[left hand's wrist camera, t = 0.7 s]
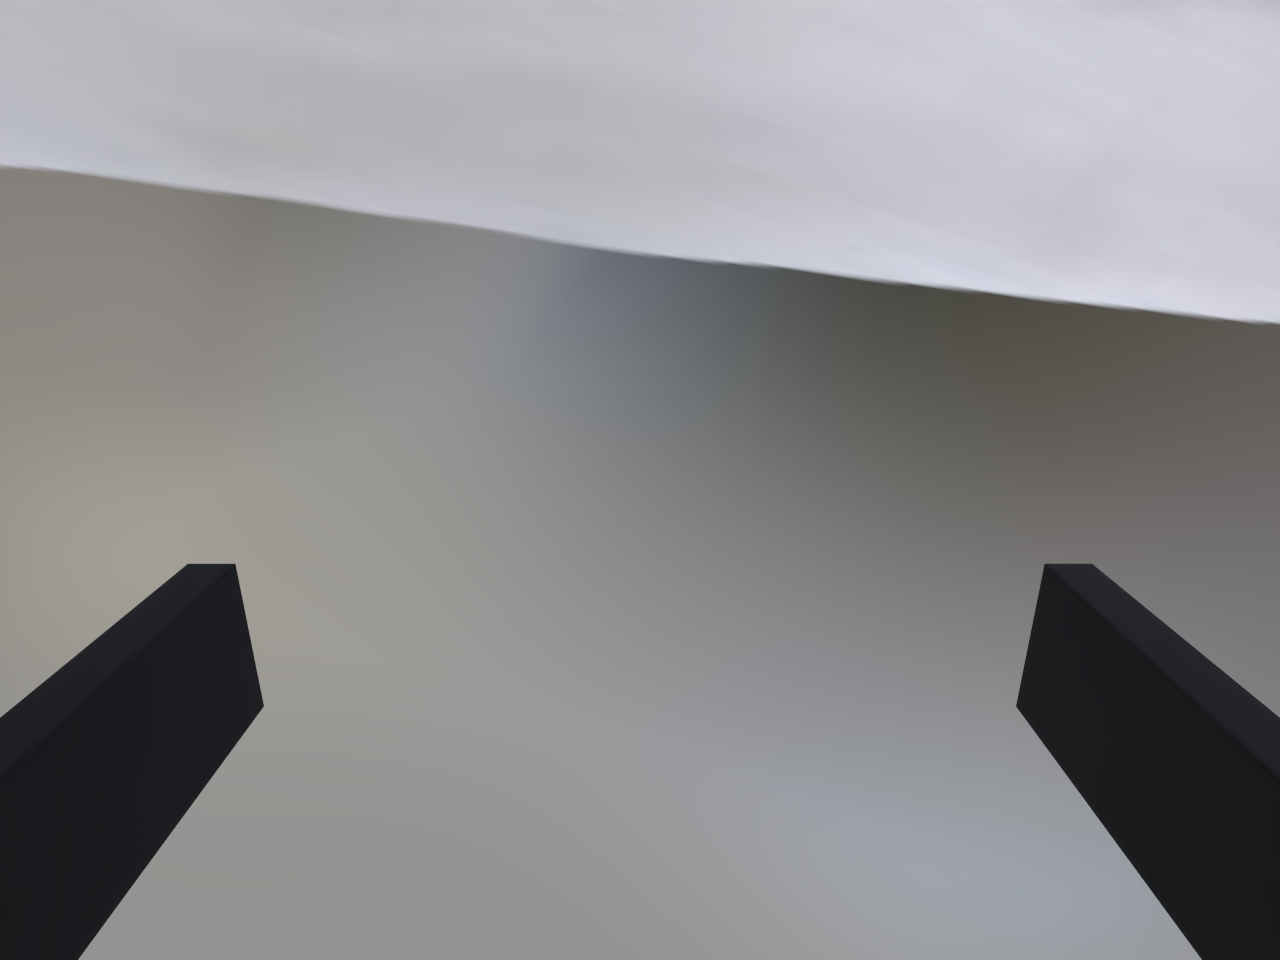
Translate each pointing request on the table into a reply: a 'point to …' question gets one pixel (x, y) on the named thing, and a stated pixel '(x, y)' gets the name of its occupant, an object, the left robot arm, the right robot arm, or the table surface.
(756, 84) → the table surface
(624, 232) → the table surface
